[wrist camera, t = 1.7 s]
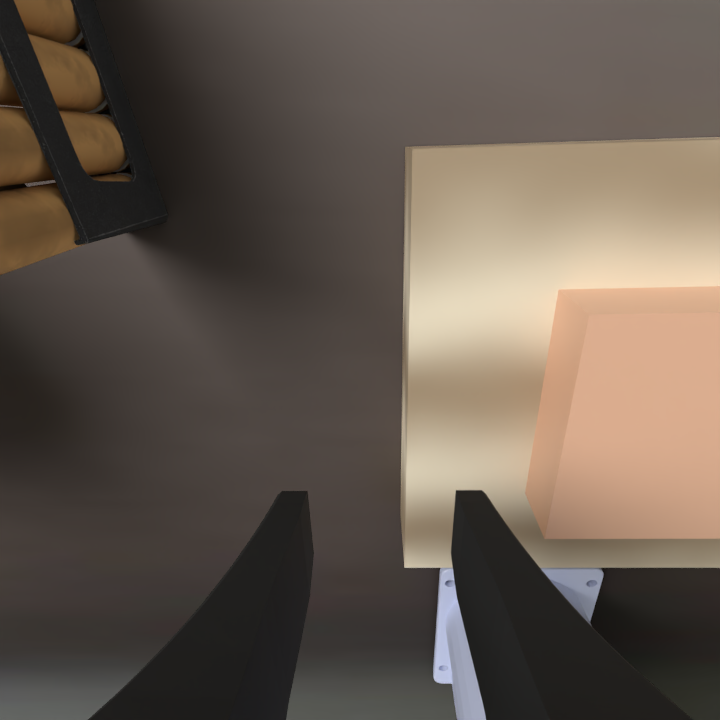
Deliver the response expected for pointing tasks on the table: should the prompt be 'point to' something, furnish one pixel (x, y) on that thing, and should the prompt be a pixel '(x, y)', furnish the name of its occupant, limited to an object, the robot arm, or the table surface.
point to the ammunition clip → (66, 136)
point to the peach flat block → (630, 416)
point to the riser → (530, 313)
